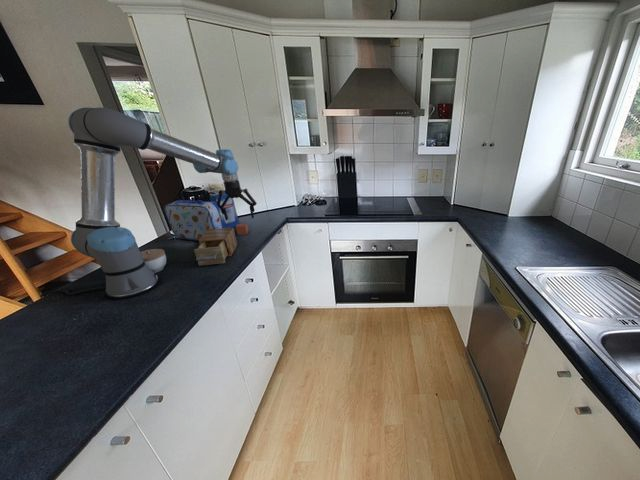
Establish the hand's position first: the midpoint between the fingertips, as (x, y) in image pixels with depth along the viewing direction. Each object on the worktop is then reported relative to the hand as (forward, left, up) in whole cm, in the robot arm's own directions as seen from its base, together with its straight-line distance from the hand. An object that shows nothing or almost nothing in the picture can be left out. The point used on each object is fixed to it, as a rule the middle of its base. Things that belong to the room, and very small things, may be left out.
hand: (240, 218), depth 155 cm
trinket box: (-14, -46, -9) cm, 49 cm away
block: (0, 0, -9) cm, 9 cm away
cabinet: (+3, -25, -9) cm, 27 cm away
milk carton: (-15, +10, -9) cm, 20 cm away
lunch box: (-18, -10, -9) cm, 23 cm away
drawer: (+7, -36, -8) cm, 38 cm away
